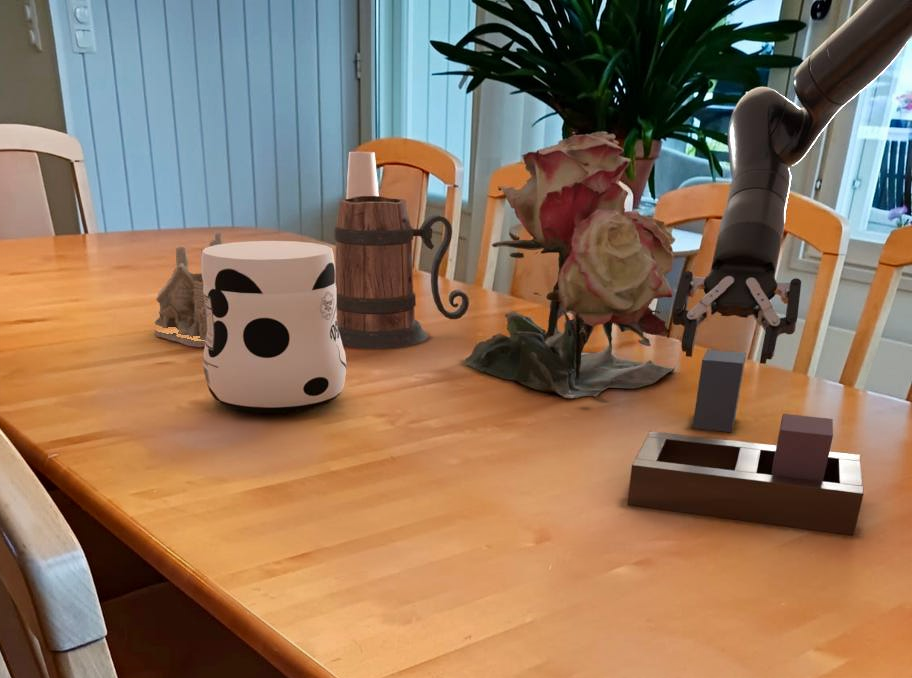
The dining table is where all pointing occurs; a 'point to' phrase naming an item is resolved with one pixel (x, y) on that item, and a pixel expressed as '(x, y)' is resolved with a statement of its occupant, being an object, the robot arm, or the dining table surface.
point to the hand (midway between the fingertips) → (725, 356)
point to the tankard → (383, 273)
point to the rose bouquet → (583, 272)
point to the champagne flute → (362, 175)
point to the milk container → (272, 326)
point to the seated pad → (803, 447)
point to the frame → (743, 484)
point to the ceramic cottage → (184, 302)
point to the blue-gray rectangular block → (718, 390)
